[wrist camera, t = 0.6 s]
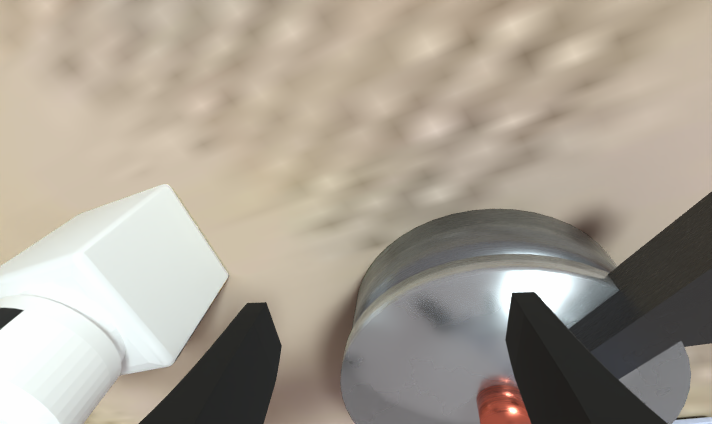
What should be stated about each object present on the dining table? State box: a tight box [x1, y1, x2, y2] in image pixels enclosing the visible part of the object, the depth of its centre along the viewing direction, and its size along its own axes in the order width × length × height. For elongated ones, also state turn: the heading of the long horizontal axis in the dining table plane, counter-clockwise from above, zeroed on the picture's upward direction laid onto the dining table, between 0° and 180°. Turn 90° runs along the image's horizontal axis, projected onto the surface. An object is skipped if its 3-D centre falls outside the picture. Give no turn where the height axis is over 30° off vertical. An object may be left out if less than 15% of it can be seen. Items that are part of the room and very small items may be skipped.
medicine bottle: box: [0, 184, 229, 424], centre depth 19 cm, size 7×7×12 cm
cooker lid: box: [340, 192, 712, 424], centre depth 17 cm, size 22×16×3 cm
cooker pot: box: [352, 209, 712, 347], centre depth 21 cm, size 20×16×4 cm
